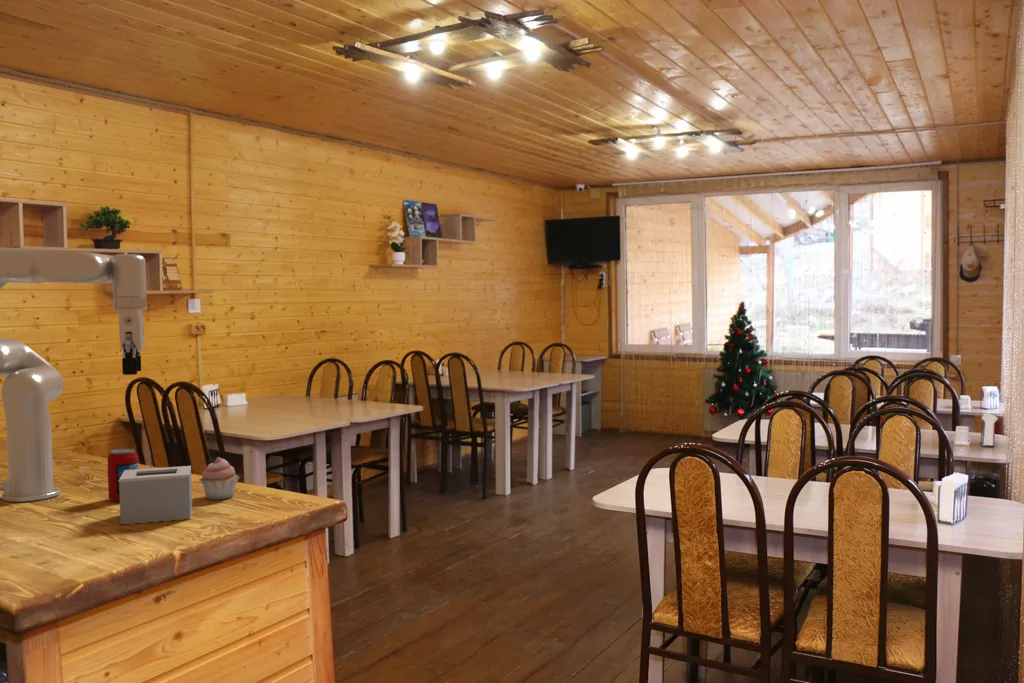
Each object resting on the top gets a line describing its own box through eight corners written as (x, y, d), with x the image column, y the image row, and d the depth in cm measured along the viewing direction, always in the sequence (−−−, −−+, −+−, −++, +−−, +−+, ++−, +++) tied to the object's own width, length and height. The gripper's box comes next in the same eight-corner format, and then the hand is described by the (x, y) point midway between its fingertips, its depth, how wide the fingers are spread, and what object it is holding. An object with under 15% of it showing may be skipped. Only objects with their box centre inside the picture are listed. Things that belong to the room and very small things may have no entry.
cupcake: (192, 497, 200) (191, 457, 200) (228, 490, 207) (227, 451, 206) (210, 504, 194) (209, 462, 193) (246, 496, 201) (246, 456, 200)
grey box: (120, 525, 176) (119, 479, 175) (125, 513, 185) (124, 470, 185) (190, 519, 180) (189, 474, 180) (192, 508, 190) (190, 465, 189)
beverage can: (127, 503, 195) (125, 453, 194) (102, 501, 196) (100, 452, 195) (145, 496, 201) (143, 448, 201) (121, 495, 203) (119, 447, 202)
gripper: (143, 304, 196) (145, 375, 197) (149, 303, 212) (151, 369, 213) (108, 304, 193) (110, 376, 194) (117, 304, 209) (119, 370, 210)
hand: (132, 372), depth 203 cm, fingers open, 9 cm apart
